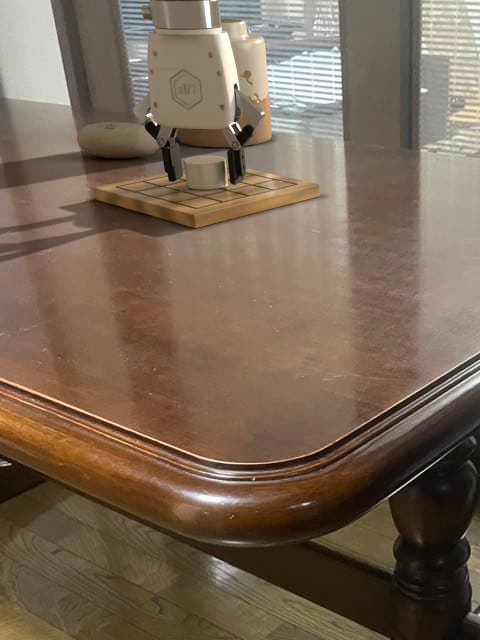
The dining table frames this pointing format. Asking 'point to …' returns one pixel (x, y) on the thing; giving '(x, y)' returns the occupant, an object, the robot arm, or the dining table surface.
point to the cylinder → (206, 172)
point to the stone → (116, 140)
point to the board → (206, 197)
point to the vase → (251, 84)
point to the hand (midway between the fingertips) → (206, 179)
